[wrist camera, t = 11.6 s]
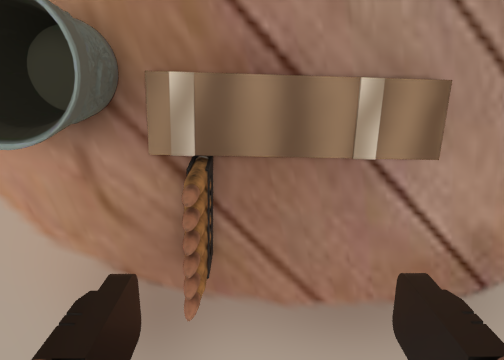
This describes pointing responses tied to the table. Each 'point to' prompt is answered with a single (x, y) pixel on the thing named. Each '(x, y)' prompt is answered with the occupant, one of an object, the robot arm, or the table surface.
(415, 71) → the table surface
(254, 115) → the plank
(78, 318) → the robot arm
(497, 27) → the table surface
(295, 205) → the table surface
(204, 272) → the ammunition clip
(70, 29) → the grey-green cup
